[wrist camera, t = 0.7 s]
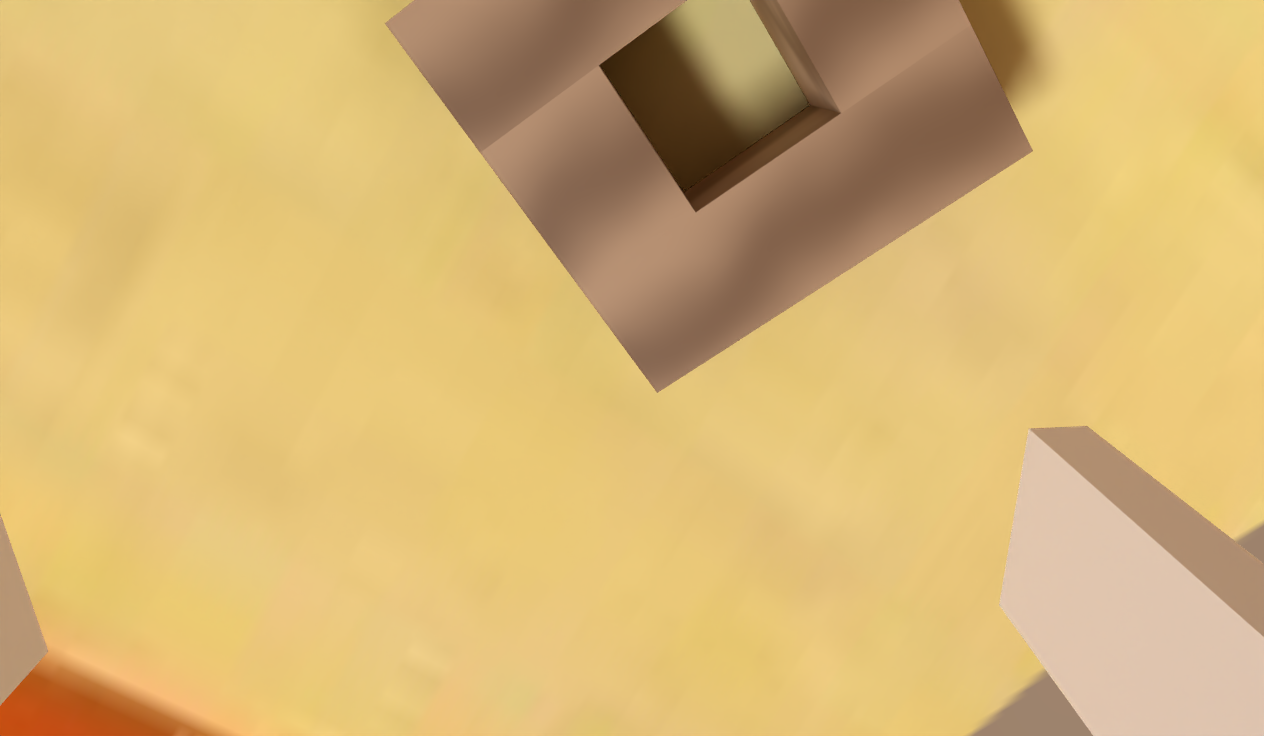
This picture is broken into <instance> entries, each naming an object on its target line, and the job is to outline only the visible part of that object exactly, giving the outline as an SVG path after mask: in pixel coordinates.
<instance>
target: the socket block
mask: <svg viewBox="0 0 1264 736" xmlns="http://www.w3.org/2000/svg"><path fill="white" fill-rule="evenodd" d="M685 1H687V0H414V1H413V2H411V3H410V4H409V5H408V6H406V7H405V8H404V9H403V10H401V11H400V12H399V13H398V14H396V15H395V16H394V17H392V18H391V19H390V20H389V21H387V22H386V23H385V24H386V26H387V27H388V28H389V30H390V31H391V32H392V34H393V35H394V36H395V38H396V39H397V41H398V42H399V43H400V45H401V46H402V47H403V49H404V50H405V51H406V53H407V54H408V55H409V57H410V58H411V59H412V61H413V62H414V64H415V65H416V66H417V68H418V69H419V70H420V72H421V73H422V74H423V76H424V77H425V78H426V80H427V81H428V83H429V84H430V85H431V87H432V88H433V89H434V91H435V92H436V93H437V95H438V96H439V97H440V99H441V100H442V102H443V103H444V104H445V106H446V107H447V108H448V110H449V111H450V112H451V114H452V115H453V116H454V118H455V119H456V121H457V122H458V123H459V125H460V126H461V127H462V129H463V130H464V131H465V133H466V134H467V135H468V137H469V138H470V139H471V141H472V142H473V144H474V145H475V146H476V148H477V149H478V150H479V152H480V153H481V154H482V156H483V157H484V158H485V160H486V161H487V163H488V164H489V165H490V167H491V168H492V169H493V171H494V172H495V173H496V175H497V176H498V177H499V179H500V180H501V182H502V183H503V184H504V186H505V187H506V188H507V190H508V191H509V192H510V194H511V195H512V196H513V198H514V199H515V201H516V202H517V203H518V205H519V206H520V207H521V209H522V210H523V211H524V213H525V214H526V215H527V217H528V218H529V219H530V221H531V222H532V224H533V225H534V226H535V228H536V229H537V230H538V232H539V233H540V234H541V236H542V237H543V238H544V240H545V241H546V243H547V244H548V245H549V247H550V248H551V249H552V251H553V252H554V253H555V255H556V256H557V257H558V259H559V260H560V262H561V263H562V264H563V266H564V267H565V268H566V270H567V271H568V272H569V274H570V275H571V276H572V278H573V279H574V280H575V282H576V283H577V285H578V286H579V287H580V289H581V290H582V291H583V293H584V294H585V295H586V297H587V298H588V299H589V301H590V302H591V304H592V305H593V306H594V308H595V309H596V310H597V312H598V313H599V314H600V316H601V317H602V318H603V320H604V321H605V323H606V324H607V325H608V327H609V328H610V329H611V331H612V332H613V333H614V335H615V336H616V337H617V339H618V340H619V342H620V343H621V344H622V346H623V347H624V348H625V350H626V351H627V352H628V354H629V355H630V356H631V358H632V359H633V360H634V362H635V363H636V365H637V366H638V367H639V369H640V370H641V371H642V373H643V374H644V375H645V377H646V378H647V379H648V381H649V382H650V384H651V385H652V386H653V388H654V389H655V390H656V392H657V393H658V392H659V391H661V390H662V389H664V388H665V387H667V386H669V385H670V384H672V383H673V382H675V381H676V380H678V379H679V378H681V377H683V376H684V375H686V374H687V373H689V372H690V371H692V370H693V369H695V368H697V367H698V366H700V365H701V364H703V363H704V362H706V361H707V360H709V359H711V358H712V357H714V356H715V355H717V354H718V353H720V352H721V351H723V350H725V349H726V348H728V347H729V346H731V345H732V344H734V343H735V342H737V341H739V340H740V339H742V338H743V337H745V336H746V335H748V334H749V333H751V332H752V331H754V330H756V329H757V328H759V327H760V326H762V325H763V324H765V323H766V322H768V321H770V320H771V319H773V318H774V317H776V316H777V315H779V314H780V313H782V312H784V311H785V310H787V309H788V308H790V307H791V306H793V305H794V304H796V303H798V302H799V301H801V300H802V299H804V298H805V297H807V296H808V295H810V294H812V293H813V292H815V291H816V290H818V289H819V288H821V287H822V286H824V285H825V284H827V283H829V282H830V281H832V280H833V279H835V278H836V277H838V276H839V275H841V274H843V273H844V272H846V271H847V270H849V269H850V268H852V267H853V266H855V265H857V264H858V263H860V262H861V261H863V260H864V259H866V258H867V257H869V256H871V255H872V254H874V253H875V252H877V251H878V250H880V249H881V248H883V247H885V246H886V245H888V244H889V243H891V242H892V241H894V240H895V239H897V238H899V237H900V236H902V235H903V234H905V233H906V232H908V231H909V230H911V229H912V228H914V227H916V226H917V225H919V224H920V223H922V222H923V221H925V220H926V219H928V218H930V217H931V216H933V215H934V214H936V213H937V212H939V211H940V210H942V209H944V208H945V207H947V206H948V205H950V204H951V203H953V202H954V201H956V200H958V199H959V198H961V197H962V196H964V195H965V194H967V193H968V192H970V191H972V190H973V189H975V188H976V187H978V186H979V185H981V184H982V183H984V182H985V181H987V180H989V179H990V178H992V177H993V176H995V175H996V174H998V173H999V172H1001V171H1003V170H1004V169H1006V168H1007V167H1009V166H1010V165H1012V164H1013V163H1015V162H1017V161H1018V160H1020V159H1021V158H1023V157H1024V156H1026V155H1027V154H1029V153H1031V152H1032V151H1033V150H1032V148H1031V146H1030V144H1029V142H1028V140H1027V138H1026V136H1025V134H1024V132H1023V130H1022V128H1021V126H1020V124H1019V122H1018V120H1017V118H1016V116H1015V114H1014V111H1013V109H1012V107H1011V105H1010V103H1009V101H1008V99H1007V97H1006V95H1005V93H1004V91H1003V89H1002V87H1001V85H1000V83H999V81H998V79H997V77H996V75H995V73H994V71H993V69H992V67H991V65H990V63H989V60H988V58H987V56H986V54H985V52H984V50H983V48H982V46H981V44H980V42H979V40H978V38H977V36H976V34H975V32H974V30H973V28H972V26H971V24H970V22H969V20H968V18H967V16H966V14H965V12H964V10H963V7H962V5H961V3H960V1H959V0H750V2H751V3H752V5H753V7H754V9H755V10H756V12H757V14H758V15H759V17H760V19H761V21H762V22H763V24H764V26H765V28H766V29H767V31H768V33H769V35H770V36H771V38H772V40H773V41H774V43H775V45H776V47H777V48H778V50H779V52H780V54H781V55H782V57H783V59H784V60H785V62H786V64H787V66H788V67H789V69H790V71H791V73H792V74H793V76H794V78H795V79H796V81H797V83H798V85H799V86H800V88H801V90H802V92H803V93H804V95H805V97H806V99H807V100H808V102H809V104H810V106H809V107H807V108H806V109H804V110H803V111H801V112H800V113H798V114H797V115H796V116H794V117H793V118H791V119H790V120H788V121H787V122H785V123H784V124H782V125H781V126H780V127H778V128H777V129H775V130H774V131H772V132H771V133H769V134H768V135H767V136H765V137H764V138H762V139H761V140H759V141H758V142H756V143H755V144H753V145H752V146H751V147H749V148H748V149H746V150H745V151H743V152H742V153H740V154H739V155H738V156H736V157H735V158H733V159H732V160H730V161H729V162H727V163H726V164H724V165H723V166H722V167H720V168H719V169H717V170H716V171H714V172H713V173H711V174H710V175H709V176H707V177H706V178H704V179H703V180H701V181H700V182H698V183H697V184H695V185H694V186H693V187H691V188H690V189H688V190H687V191H685V192H683V191H682V189H681V188H680V186H679V185H678V183H677V182H676V180H675V179H674V177H673V176H672V174H671V173H670V171H669V169H668V168H667V166H666V165H665V163H664V162H663V160H662V159H661V157H660V156H659V154H658V153H657V151H656V150H655V148H654V147H653V145H652V144H651V142H650V141H649V139H648V138H647V136H646V135H645V133H644V132H643V130H642V128H641V127H640V125H639V124H638V122H637V121H636V119H635V118H634V116H633V115H632V113H631V112H630V110H629V109H628V107H627V106H626V104H625V103H624V101H623V100H622V98H621V97H620V95H619V94H618V92H617V91H616V89H615V87H614V86H613V84H612V83H611V81H610V80H609V78H608V77H607V75H606V74H605V72H604V71H603V69H602V68H601V66H600V64H601V63H603V62H604V61H605V60H607V59H608V58H609V57H611V56H612V55H613V54H615V53H616V52H618V51H619V50H620V49H622V48H623V47H624V46H626V45H627V44H628V43H630V42H631V41H632V40H634V39H635V38H637V37H638V36H639V35H641V34H642V33H643V32H645V31H646V30H647V29H649V28H650V27H651V26H653V25H654V24H656V23H657V22H658V21H660V20H661V19H662V18H664V17H665V16H666V15H668V14H669V13H670V12H672V11H673V10H675V9H676V8H677V7H679V6H680V5H681V4H683V3H684V2H685Z"/></svg>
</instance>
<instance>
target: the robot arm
mask: <svg viewBox="0 0 1264 736" xmlns="http://www.w3.org/2000/svg"><path fill="white" fill-rule="evenodd" d="M999 606H1000V607H1001V608H1002V610H1003V611H1004V612H1005V614H1006V615H1007V617H1008V618H1009V619H1010V621H1011V622H1012V624H1013V625H1014V626H1015V628H1016V629H1017V631H1018V632H1019V633H1020V635H1021V636H1022V637H1023V639H1024V640H1025V642H1026V643H1027V644H1028V646H1029V647H1030V649H1031V650H1032V651H1033V653H1034V654H1035V655H1036V657H1037V658H1038V660H1039V661H1040V662H1041V664H1042V665H1043V667H1044V668H1045V669H1046V671H1047V672H1048V673H1049V675H1050V676H1051V678H1052V679H1053V680H1054V682H1055V683H1056V684H1057V686H1058V687H1059V689H1060V690H1061V691H1062V693H1063V694H1064V696H1065V697H1066V698H1067V699H1068V701H1069V703H1070V704H1071V705H1072V707H1073V708H1074V710H1075V711H1076V712H1077V714H1078V715H1079V716H1080V718H1081V719H1082V721H1083V722H1084V723H1085V725H1086V726H1087V727H1088V729H1089V730H1090V732H1091V733H1092V734H1093V736H1264V563H1262V562H1261V561H1260V560H1258V559H1257V558H1256V557H1255V556H1253V555H1252V554H1251V553H1249V552H1248V551H1247V550H1246V549H1244V548H1243V547H1242V546H1240V545H1239V544H1238V543H1237V542H1235V541H1234V540H1233V539H1231V538H1230V537H1229V536H1228V535H1226V534H1225V533H1224V532H1222V531H1221V530H1220V529H1219V528H1217V527H1216V526H1215V525H1213V524H1212V523H1211V522H1210V521H1208V520H1207V519H1206V518H1204V517H1203V516H1202V515H1201V514H1199V513H1198V512H1197V511H1195V510H1194V509H1193V508H1192V507H1190V506H1189V505H1188V504H1186V503H1185V502H1184V501H1183V500H1181V499H1180V498H1179V497H1177V496H1176V495H1175V494H1174V493H1172V492H1171V491H1170V490H1168V489H1167V488H1166V487H1165V486H1163V485H1162V484H1161V483H1159V482H1158V481H1157V480H1156V479H1154V478H1153V477H1152V476H1150V475H1149V474H1148V473H1147V472H1145V471H1144V470H1143V469H1141V468H1140V467H1139V466H1138V465H1136V464H1135V463H1134V462H1132V461H1131V460H1130V459H1129V458H1127V457H1126V456H1125V455H1124V454H1122V453H1121V452H1120V451H1118V450H1117V449H1116V448H1115V447H1113V446H1112V445H1111V444H1109V443H1108V442H1107V441H1106V440H1104V439H1103V438H1102V437H1100V436H1099V435H1098V434H1097V433H1095V432H1094V431H1093V430H1091V429H1090V428H1089V427H1088V426H1080V427H1055V428H1031V429H1029V431H1028V437H1027V443H1026V448H1025V454H1024V460H1023V466H1022V472H1021V478H1020V484H1019V490H1018V496H1017V502H1016V508H1015V514H1014V520H1013V526H1012V532H1011V538H1010V544H1009V550H1008V556H1007V562H1006V568H1005V574H1004V580H1003V586H1002V591H1001V597H1000V603H999ZM47 652H48V649H47V646H46V643H45V641H44V638H43V635H42V632H41V629H40V626H39V623H38V620H37V618H36V615H35V612H34V609H33V606H32V603H31V600H30V598H29V595H28V592H27V589H26V586H25V583H24V580H23V578H22V575H21V572H20V569H19V566H18V563H17V560H16V558H15V555H14V552H13V549H12V546H11V543H10V540H9V538H8V535H7V532H6V529H5V526H4V523H3V520H2V518H1V515H0V705H1V704H2V703H3V702H4V701H5V699H6V698H7V697H8V696H9V695H10V694H11V693H12V692H13V690H14V689H15V688H16V687H17V686H18V685H19V684H20V683H21V681H22V680H23V679H24V678H25V677H26V676H27V675H28V674H29V672H30V671H31V670H32V669H33V668H34V667H35V666H36V665H37V663H38V662H39V661H40V660H41V659H42V658H43V657H44V656H45V654H46V653H47Z"/></svg>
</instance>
